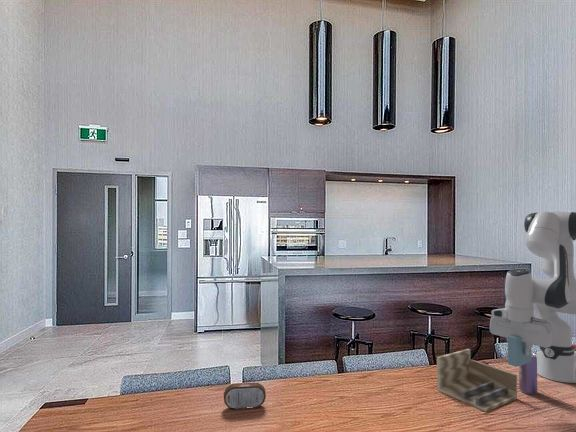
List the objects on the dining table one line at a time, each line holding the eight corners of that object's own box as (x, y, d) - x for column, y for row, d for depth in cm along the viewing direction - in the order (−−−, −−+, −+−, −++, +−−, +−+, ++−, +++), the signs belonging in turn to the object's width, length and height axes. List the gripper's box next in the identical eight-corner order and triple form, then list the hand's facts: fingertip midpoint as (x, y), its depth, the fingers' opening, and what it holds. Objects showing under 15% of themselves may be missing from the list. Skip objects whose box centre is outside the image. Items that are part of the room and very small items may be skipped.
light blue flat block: (522, 359, 138) (522, 332, 138) (531, 361, 135) (531, 334, 136) (507, 364, 133) (507, 336, 133) (516, 366, 130) (516, 338, 131)
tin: (265, 404, 135) (265, 381, 135) (266, 408, 132) (266, 384, 132) (223, 407, 132) (223, 383, 133) (223, 411, 129) (223, 387, 130)
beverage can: (540, 395, 142) (539, 356, 142) (523, 394, 143) (522, 355, 144) (533, 389, 148) (532, 351, 148) (516, 387, 149) (516, 350, 149)
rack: (468, 379, 157) (467, 348, 157) (516, 398, 140) (516, 364, 140) (437, 389, 147) (436, 357, 147) (485, 412, 129) (485, 374, 130)
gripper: (555, 319, 127) (556, 360, 127) (496, 308, 145) (496, 343, 145) (546, 322, 124) (547, 363, 124) (487, 310, 142) (487, 346, 141)
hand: (519, 352), depth 134 cm, fingers closed on light blue flat block, 3 cm apart
